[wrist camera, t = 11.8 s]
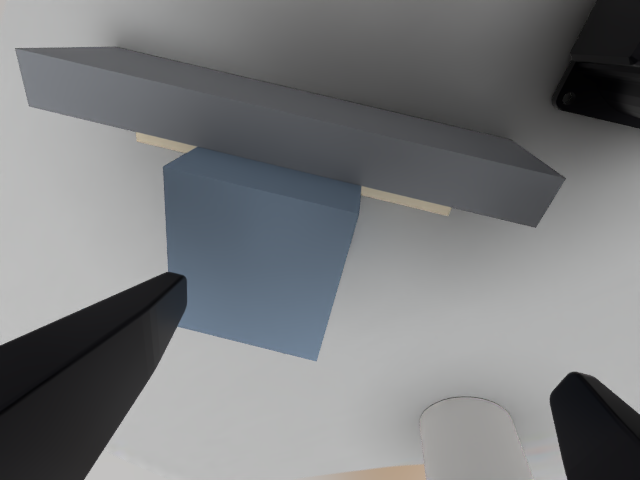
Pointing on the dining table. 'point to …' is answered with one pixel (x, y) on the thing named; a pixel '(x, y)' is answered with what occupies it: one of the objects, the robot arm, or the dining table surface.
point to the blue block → (257, 248)
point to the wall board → (292, 131)
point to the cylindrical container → (471, 442)
